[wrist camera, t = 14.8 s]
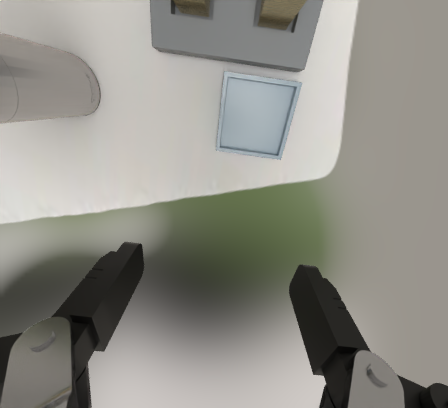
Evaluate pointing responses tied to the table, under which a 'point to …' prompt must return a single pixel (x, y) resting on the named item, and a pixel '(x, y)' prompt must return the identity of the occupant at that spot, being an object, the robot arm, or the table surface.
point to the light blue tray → (256, 114)
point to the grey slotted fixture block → (235, 33)
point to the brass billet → (278, 13)
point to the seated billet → (194, 7)
